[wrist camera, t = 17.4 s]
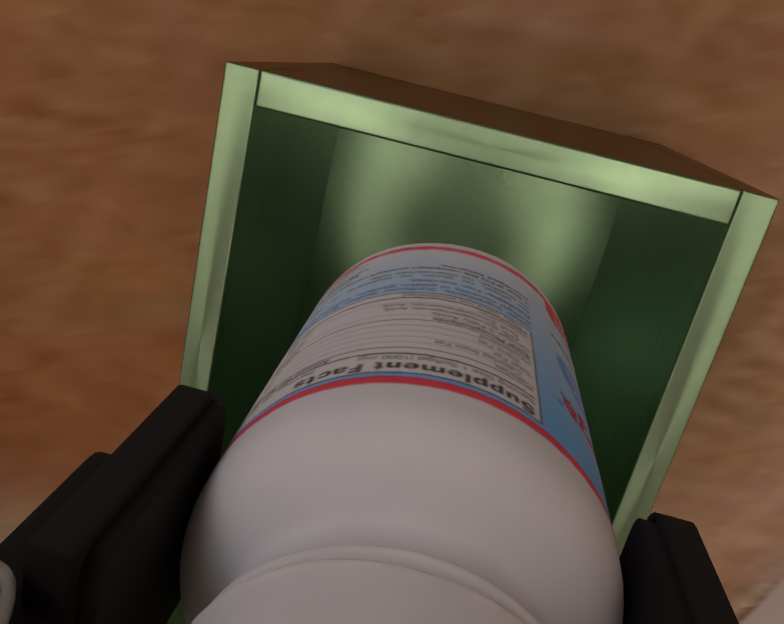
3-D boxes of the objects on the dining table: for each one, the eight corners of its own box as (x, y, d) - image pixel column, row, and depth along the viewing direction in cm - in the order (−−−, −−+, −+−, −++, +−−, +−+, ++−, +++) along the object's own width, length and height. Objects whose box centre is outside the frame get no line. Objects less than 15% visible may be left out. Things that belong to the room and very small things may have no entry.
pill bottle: (532, 490, 18) (586, 1089, 8) (294, 437, 19) (51, 951, 8) (600, 262, 16) (796, 688, 6) (328, 206, 16) (51, 516, 6)
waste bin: (333, 62, 31) (225, 61, 18) (659, 143, 30) (780, 199, 18) (272, 377, 36) (154, 548, 23) (551, 452, 35) (586, 669, 23)
